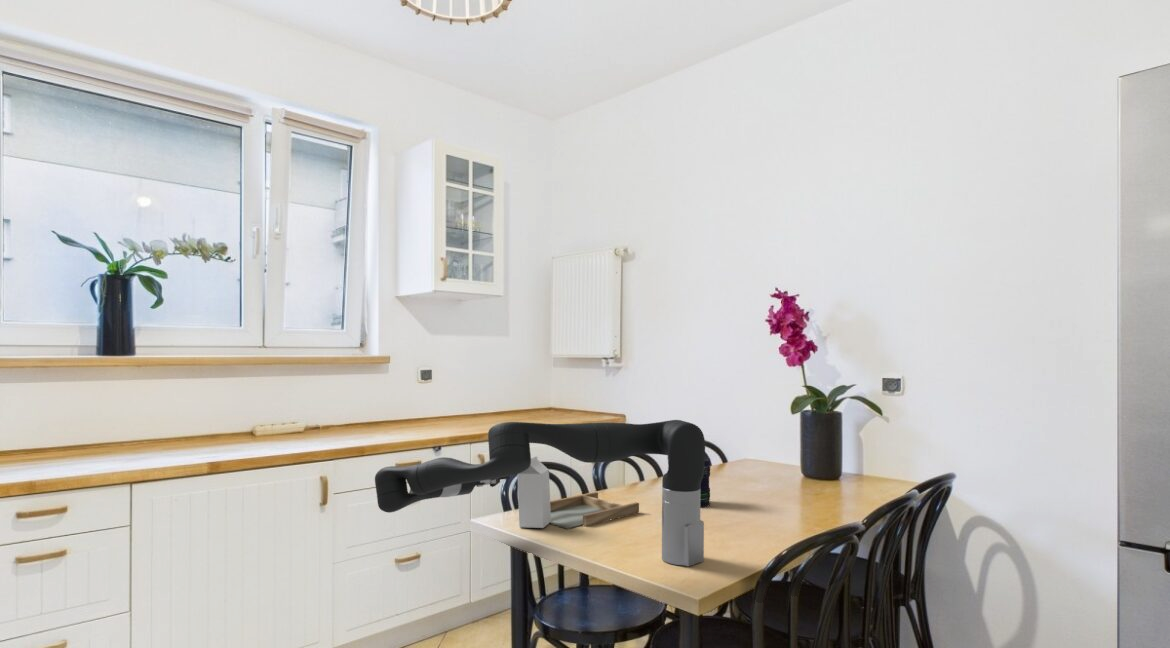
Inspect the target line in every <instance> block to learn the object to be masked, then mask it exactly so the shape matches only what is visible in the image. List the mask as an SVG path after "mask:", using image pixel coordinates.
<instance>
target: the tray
mask: <svg viewBox="0 0 1170 648" xmlns="http://www.w3.org/2000/svg"><path fill="white" fill-rule="evenodd" d="M550 509H551V522H550V523H551V524H550V525H552V524H554V525H553V526H555V525H557V526H556V527H558V526H559V527H558V528H561V527H562V528H561V529H564V528H565V529H564V530H570V528H571V529H574V528H573V527H575V528H578V527H577V526H579V527H581V526H580V525H584V526H583V527H588V526H587V525H589V526H593V525H596V524H595V523H597V524H600V523H599V522H601V523H604V522H603V521H605V522H608V521H607V520H609V521H611V520H610V519H613V520H616V519H615V518H617V519H619V518H618V517H621V518H623V517H622V516H625V517H627V516H626V515H629V516H631V515H630V514H633V515H635V514H634V513H636V514H639V513H640V503H639V502H636V501H635V502H632V503H627V504H624V505H623V504H619V503H615V502H611V501H608V500H605V499H600V498H599V492H597V491H593V492H589V493H584V494H579V495H575V496H569V497H565V498H559V499H554V500H550ZM638 512H639V513H638ZM592 524H593V525H592Z"/></svg>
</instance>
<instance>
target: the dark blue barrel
mask: <svg viewBox="0 0 1170 648" xmlns="http://www.w3.org/2000/svg"><path fill="white" fill-rule="evenodd" d="M710 462H711V458H709V457H707V456H705V463H704V475H703V478H702V481H701V492H700V507H702V508H704V507H703V506H708V505H709V506H711V505H710V504H711V502H710V500H711V499H710V498H711V488H710V476H711V463H710ZM709 506H708V507H709Z"/></svg>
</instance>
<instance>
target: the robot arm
mask: <svg viewBox="0 0 1170 648" xmlns="http://www.w3.org/2000/svg"><path fill="white" fill-rule="evenodd" d="M487 440H488V443H487V444H488V453H489V458H488V459H489V460H488V461H486V462H483V463H479V464H478V463H477V464H475V463H474V464H473V463H468V462H466V461H462V460H460V459H456V458H453V457H445V456H444V457H437V458H434V459H431V460H427V461H424V462H421V463H418V464H415V465H407V466H401V465H400V466H397V465H395V466H393V465H392V466H384V467H383V468H381V469H379V470H378V471H377V472H376V474H375V476H374V484H375V493H376V501H377V506H378V508H379V510H380V511H382V512H385V513H395V512H397V511H400V510H402V509H404V508H406V507H408V506H410V505H412V504H415V503H417V502H421V501H425V500H430V499H437V498H451V497H457V496H465V495H469V494H471V493H472V492H473V490H474V489H475V487H477V488H480V487H484V486H486V485H487V486H488V485H489V487H491V488H493V487H496V486H497V485H498V484H500V483H501V480H507V479H510V478H509V477H511V476H515V475H517V474H518V473H521V472H523V471H525V470H526V469H528V468H529V466H530V464H531V458H532V455H531V445H530V444H539V445H545V446H549V447H552V448H555V449H556V450H558V451H560V452H562V453H564V454H565V455H567V456H569V457H570V458H573V459H575V460H577V461H579V462H583V463H589V464H590V463H591V464H592V463H607V462H608V463H609V462H615V461H621V460H623V459H627V458H629V457H633V456H637V455H662V456H668V466H667V467H668V468H667V472H666V473H664V474H663V475H662V479H661V480H662V481H661V483H662V486H661V487H662V488H661V490H662V491H661V496H662V497H661V560H662V561H664V562H665V563H668V564H671V565H677V566H684V567H691V566H694V565H697V564H700V563H702V562H704V559H705V554H704V553H705V551H704V550H705V548H704V547H705V546H704V545H705V544H704V543H705V541H704V540H705V537H704V536H705V532H704V531H705V522H704V520H701V508H700V492H701V481H702V478H703V475H704V463H705V457H706V441H705V436H704V433H703V431H702V429H701V428H700V427H699V426H697V425H696V424H694V423H691V422H689V421H684V420H681V419H671V420H665V421H659V422H651V423H640V424H637V423H625V422H586V423H542V422H541V423H539V422H525V421H524V422H523V421H521V422H520V421H506V422H501V423H497V424H494V425H493V426H491V427H490V428H489V429H488V433H487ZM408 485H409V486H408ZM408 487H409V489H408ZM408 491H409V492H408Z"/></svg>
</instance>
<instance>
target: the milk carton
mask: <svg viewBox="0 0 1170 648" xmlns="http://www.w3.org/2000/svg"><path fill="white" fill-rule="evenodd" d="M516 476H517V498H518V499H517V500H518V501H517V502H518V521H519V522H518V525H519V528H529V529H531V528H535V529H536V528H537V529H539V528H540V529H544V528H545V527H546V526H547V525H549V523H550V522H551V509H550V501H551V493H550V469H549V468H547V466H546V465H544V464H543V462H541V461H540V460H539V459H538V455H535V456H533V457H531V464H530V466H529V468H528V469H526V470H525V471H523V472H521V473H518V474H516Z"/></svg>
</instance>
